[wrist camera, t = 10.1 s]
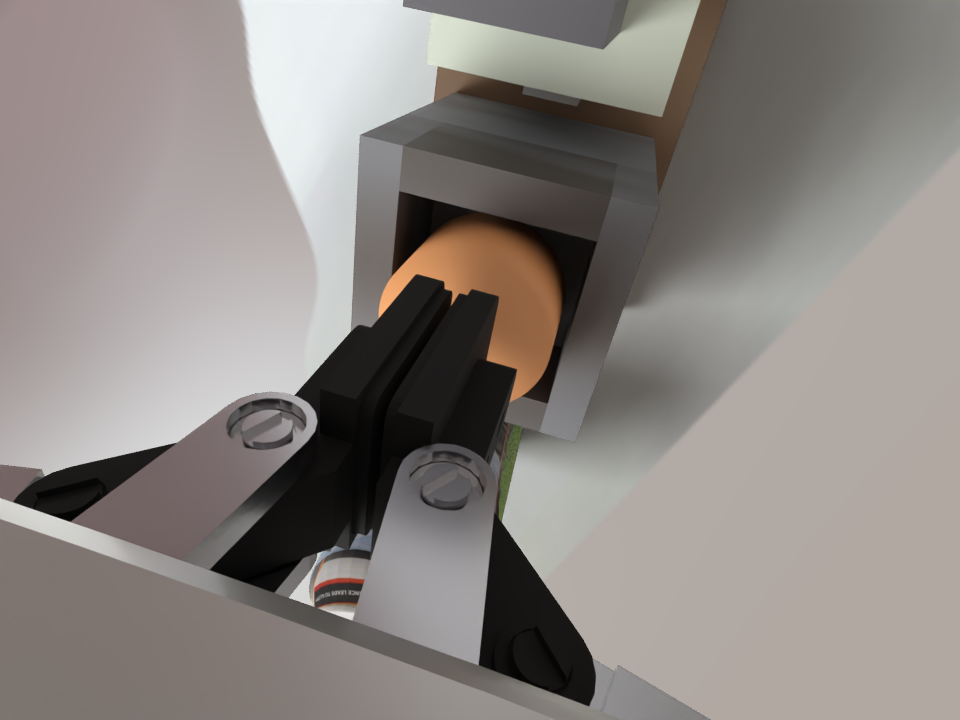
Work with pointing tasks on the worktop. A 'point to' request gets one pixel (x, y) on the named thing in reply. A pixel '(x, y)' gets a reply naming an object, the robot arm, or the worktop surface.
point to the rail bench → (529, 201)
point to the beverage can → (346, 569)
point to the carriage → (566, 45)
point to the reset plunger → (497, 285)
